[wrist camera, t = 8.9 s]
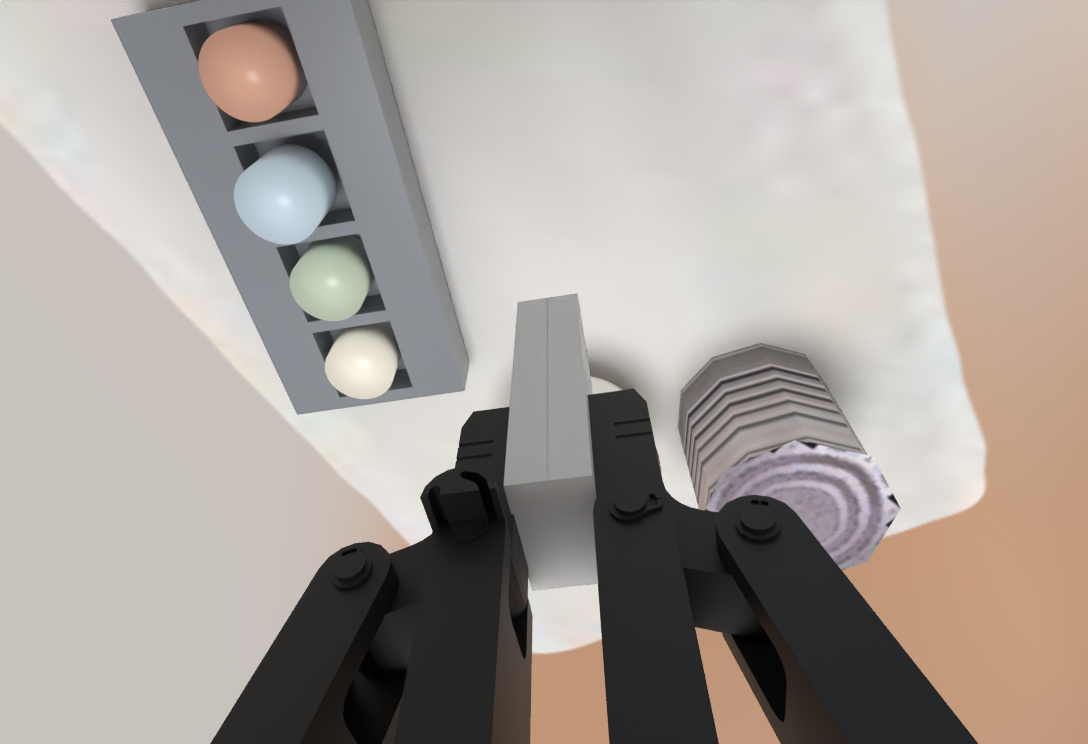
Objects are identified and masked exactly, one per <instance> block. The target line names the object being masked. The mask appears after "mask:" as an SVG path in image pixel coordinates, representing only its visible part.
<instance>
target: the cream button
mask: <svg viewBox="0 0 1088 744" xmlns="http://www.w3.org/2000/svg"><path fill="white" fill-rule="evenodd" d="M400 358H401V352H400V349H399V346H398V343H397V340H396V337H395V334H394V331H393V329H392V326H391V324H390V323H389V322H381V323H374V324H368V325H361V326H355V327H348V328H342V329H341V330H340V332H339V334H338V336H337V338H336V340H335V342H334V344H333V346H332V348H331V350H330V352H329V354H328V356H327V358H326V361H325V373H326V376H327V378H328V380H329V381H330V383H331V384H332V385H333V386H334V387H335V388H336V389H337V390H338V391H340V392H341V393H343V394H345V395H347V396H350V397H353V398H357V399H371V398H375V397H378V396H380V395H382V394H384V393H385V392H386V391H387V390H388V389H389V388H390V386H391V384H392V382H393V379H394V376H395V373H396V370H397V367H398V364H399V361H400Z"/></svg>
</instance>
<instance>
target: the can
mask: <svg viewBox="0 0 1088 744" xmlns="http://www.w3.org/2000/svg"><path fill="white" fill-rule="evenodd" d="M678 429H679V433H680V437H681V441H682V445H683V449H684V453H685V457H686V460H687V464H688V468H689V472H690V476H691V480H692V484H693V488H694V492H695V495H696V499H697V503H698V507H699V509H700V510H706V511H713V512H719V511H720V510H721V509H722V507H723V506H724V505H725V504H726V503H727V502H729V501H731V500H734V499H736V498H738V497H742V496H748V495H761V496H769V497H772V498H775V499H777V500H779V501H782V502H784V503H786V504H787V505H788V506H789V507H790V508H791V509H793V510H794V511H795V512H796V513H797V514H798V516H799V517H800V518H801V520H802V521H803V522H804V523H805V525H806V526H807V527H808V528H809V530H810V531H811V532H812V533H813V535H814V536H815V537H816V539H817V540H818V541H819V542H820V544H821V545H822V546H823V547H824V549H825V550H826V551H827V552H828V554H829V555H830V556H831V558H832V559H833V560H834V561H835V563H836V564H837V565H838V566H839V568H840V569H841V570H845V569H847V568H850V567H853V566H856V565H859V564H862V563H864V562H867V561H868V559H869V558H870V556H871V555H872V553H873V551H874V550H875V548H876V547H877V545H878V544H879V542H880V541H881V539H882V537H883V536H884V534H885V533H886V531H887V530H888V528H889V526H890V525H891V523H892V522H893V520H894V519H895V517H896V515H897V514H898V512H899V511H900V509H901V508H900V506H899V505H898V503H897V501H896V499H895V497H894V495H893V493H892V491H891V490H890V488H889V486H888V484H887V482H886V480H885V478H884V477H883V475H882V473H881V471H880V469H879V467H878V465H877V463H876V462H875V460H874V458H873V456H870V455H867V453H866V451H865V450H864V448H863V446H862V445H861V443H860V441H859V440H858V438H857V436H856V435H855V433H854V431H853V430H852V428H851V426H850V425H849V423H848V421H847V419H846V418H845V416H844V414H843V413H842V411H841V409H840V408H839V406H838V404H837V403H836V401H835V399H834V398H833V396H832V394H831V393H830V391H829V389H828V388H827V386H826V385H825V383H824V382H823V380H822V379H821V377H820V376H819V374H818V373H817V371H816V370H815V369H814V367H813V366H812V364H811V363H810V361H809V360H808V358H807V357H806V355H805V354H801V353H797V352H793V351H789V350H785V349H781V348H777V347H773V346H769V345H765V344H761V343H760V344H756V345H753V346H750V347H746V348H743V349H740V350H736V351H733V352H730V353H726V354H723V355H719V356H716V357H713V358H711V359H710V360H709V362H708V363H707V364H706V365H705V366H704V367H703V368H702V369H701V370H700V371H699V372H698V373H697V374H696V375H695V376H694V377H693V378H692V379H691V380H690V382H689V383H688V384H687V385H686V386H685V387H684V388H683V389H682V390H681V397H680V409H679V421H678Z"/></svg>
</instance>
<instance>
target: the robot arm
mask: <svg viewBox="0 0 1088 744" xmlns="http://www.w3.org/2000/svg"><path fill="white" fill-rule="evenodd" d="M420 498H421V501H422V503H423V506H424V509H425V511H426V514H427V517H428V520H429V522H430V525H431V528H432V530H433V532H432V534H431V535H430V536H428V537H427V538H425V539H424V540H422V541H420V542H418V543H416V544H414V545H412V546H409V547H406V548H404V549H401V550H399V551H396V552H393V553H391V554H389V553H388V552H387V551H386V550H385V549H384V548H383V547H382V546H381V545H378V544H375V543H371V542H363V543H355V544H352V545H350V546H347V547H344V548H342V549H340V550H339V551H337V552H336V553H334V554H333V555H331V556H330V557H329V558H328V559H327V560H326V561H325V562H324V564H323V565H322V566H321V567H320V568H319V570H318V571H317V573H316V574H315V576H314V578H313V579H312V581H311V582H310V584H309V586H308V587H307V589H306V590H305V592H304V594H303V595H302V597H301V599H300V600H299V602H298V604H297V605H296V607H295V608H294V610H293V611H292V613H291V615H290V616H289V618H288V619H287V621H286V623H285V624H284V626H283V628H282V629H281V631H280V632H279V634H278V636H277V637H276V639H275V640H274V642H273V644H272V645H271V647H270V648H269V650H268V652H267V653H266V655H265V657H264V658H263V660H262V662H261V663H260V665H259V666H258V668H257V670H256V671H255V673H254V674H253V676H252V677H251V679H250V681H249V682H248V684H247V686H246V687H245V689H244V691H243V692H242V694H241V695H240V697H239V699H238V700H237V702H236V703H235V705H234V707H233V708H232V710H231V712H230V713H229V715H228V716H227V718H226V720H225V721H224V723H223V724H222V726H221V727H220V729H219V731H218V732H217V734H216V736H215V737H214V739H213V740H212V742H211V744H530V718H531V717H530V716H531V713H530V712H531V664H532V662H531V661H532V612H531V607H530V603H529V600H528V577H529V581H530V585H531V588H532V591H533V590H542V589H552V588H561V587H570V586H580V585H589V584H598V591H599V605H600V618H601V632H602V646H603V659H604V673H605V687H606V701H607V715H608V728H609V743H610V744H719V743H718V738H717V733H716V728H715V723H714V718H713V713H712V709H711V703H710V699H709V694H708V689H707V684H706V679H705V674H704V669H703V665H702V659H701V655H700V650H699V645H698V640H697V635H696V630H695V627H699V628H703V629H708V630H713V631H718V632H722V634H723V637H724V639H725V641H726V642H727V644H728V646H729V648H730V650H731V652H732V654H733V656H734V657H735V659H736V661H737V663H738V665H739V667H740V669H741V670H742V672H743V674H744V676H745V678H746V680H747V682H748V683H749V685H750V687H751V689H752V691H753V693H754V695H755V696H756V698H757V700H758V702H759V704H760V706H761V708H762V710H763V711H764V713H765V715H766V717H767V719H768V721H769V723H770V724H771V726H772V728H773V730H774V732H775V734H776V736H777V737H778V739H779V741H780V743H781V744H978V743H977V742H976V740H975V739H974V738H973V737H972V735H971V734H970V733H969V731H968V730H967V729H966V728H965V726H964V725H963V724H962V722H961V721H960V720H959V719H958V717H957V716H956V715H955V714H954V712H953V711H952V710H951V709H950V708H949V706H948V705H947V704H946V702H945V701H944V700H943V699H942V697H941V696H940V695H939V693H938V692H937V691H936V690H935V688H934V687H933V686H932V684H931V683H930V682H929V681H928V679H927V678H926V677H925V676H924V674H923V673H922V672H921V671H920V669H919V668H918V667H917V665H916V664H915V663H914V662H913V661H912V659H911V658H910V657H909V655H908V654H907V653H906V651H905V650H904V649H903V648H902V646H901V645H900V644H899V643H898V641H897V640H896V639H895V638H894V636H893V635H892V634H891V633H890V631H889V630H888V629H887V627H886V626H885V625H884V624H883V622H882V621H881V620H880V619H879V617H878V616H877V615H876V613H875V612H874V611H873V610H872V608H871V607H870V606H869V604H868V603H867V602H866V601H865V599H864V598H863V597H862V596H861V594H860V593H859V592H858V591H857V589H856V588H855V587H854V586H853V584H852V583H851V582H850V581H849V579H848V578H847V577H846V575H845V574H844V573H843V572H842V570H841V569H840V568H839V566H838V565H837V564H836V563H835V561H834V560H833V559H832V558H831V556H830V555H829V554H828V552H827V551H826V550H825V549H824V547H823V546H822V545H821V544H820V542H819V541H818V540H817V539H816V537H815V536H814V535H813V533H812V532H811V531H810V530H809V528H808V527H807V526H806V525H805V523H804V522H803V521H802V520H801V518H800V517H799V516H798V514H797V513H796V512H795V511H794V510H793V509H791V508H790V507H789V506H788V505H787V504H786V503H784V502H782V501H779V500H777V499H775V498H772V497H769V496H761V495H748V496H742V497H738V498H736V499H734V500H731V501H729V502H727V503H726V504H725V505H724V506H723V507H722V509H721V510H720V511H719V512H713V511H706V510H700V509H695V508H691V507H688V506H686V505H684V504H681V503H679V502H678V501H677V500H675V499H674V498H673V497H671V495H670V494H669V493H668V492H667V491H666V489H665V486H664V484H663V481H662V476H661V471H660V466H659V461H658V456H657V451H656V447H655V442H654V437H653V432H652V427H651V422H650V417H649V412H648V407H647V403H646V401H645V400H644V399H643V398H642V397H641V396H640V395H639V394H638V393H637V392H636V391H635V390H634V389H628V390H620V391H613V392H605V393H598V394H593V392H592V382H591V376H590V369H589V363H588V357H587V350H586V344H585V338H584V332H583V325H582V319H581V313H580V306H579V300H578V294H571V295H564V296H557V297H550V298H544V299H537V300H530V301H524V302H518V306H517V319H516V331H515V344H514V357H513V370H512V383H511V396H510V407H505V408H498V409H491V410H483V411H476V412H473V413H472V414H471V416H470V417H469V419H468V420H467V421H466V423H465V424H464V425H463V427H462V429H461V435H460V441H459V448H458V453H457V461H456V465H455V468H454V469H451V470H447V471H445V472H444V473H442V474H440V475H438V476H436V477H435V478H434V479H433V480H432V481H431V482H430V483H429V484H428V485H427V486H425V488H424V491H423V493H422V495H421V497H420Z"/></svg>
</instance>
